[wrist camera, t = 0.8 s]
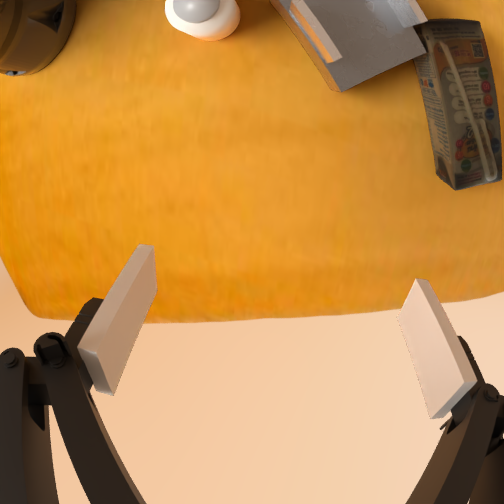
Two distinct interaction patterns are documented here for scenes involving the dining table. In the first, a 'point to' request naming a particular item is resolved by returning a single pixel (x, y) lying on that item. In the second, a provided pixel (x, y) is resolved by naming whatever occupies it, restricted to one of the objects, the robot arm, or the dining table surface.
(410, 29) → the motor
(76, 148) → the dining table surface
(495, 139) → the beverage carton
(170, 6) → the white cylindrical container
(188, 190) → the dining table surface
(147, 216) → the dining table surface
